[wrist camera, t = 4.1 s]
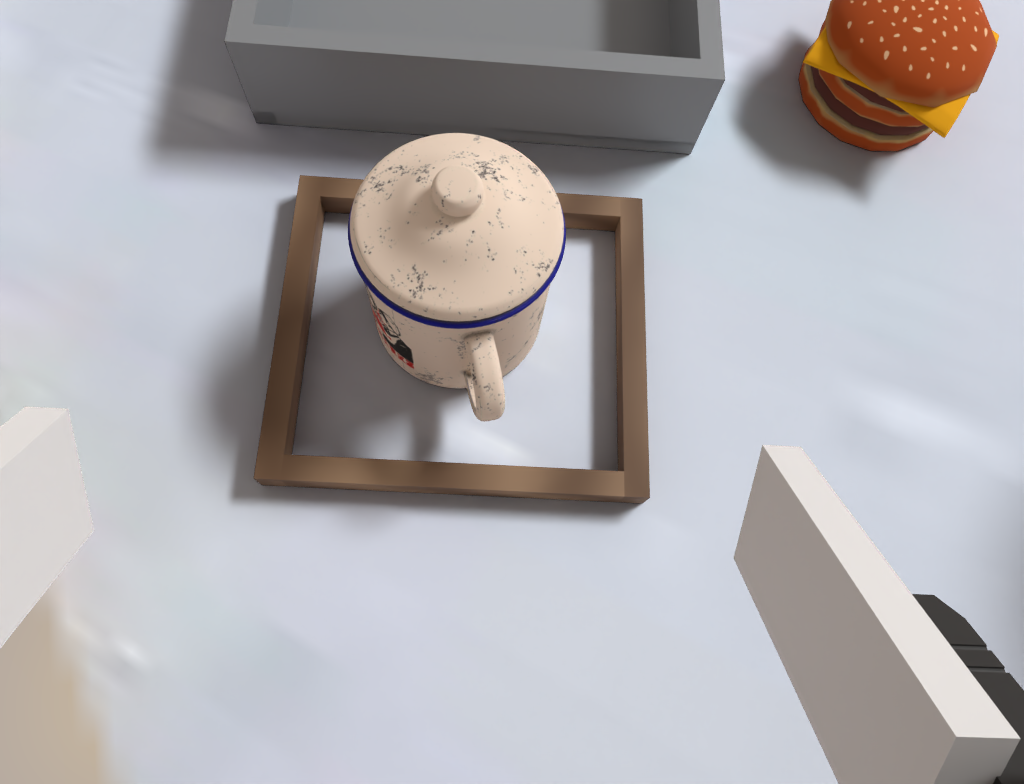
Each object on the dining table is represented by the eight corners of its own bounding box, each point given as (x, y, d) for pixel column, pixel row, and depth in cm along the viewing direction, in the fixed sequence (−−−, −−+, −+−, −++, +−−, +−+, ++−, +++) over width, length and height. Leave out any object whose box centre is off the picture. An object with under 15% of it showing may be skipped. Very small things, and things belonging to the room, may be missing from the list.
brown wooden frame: (635, 213, 42) (642, 198, 40) (642, 503, 36) (649, 497, 35) (305, 191, 41) (300, 175, 39) (262, 485, 35) (253, 478, 34)
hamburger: (962, 74, 47) (1040, -14, 40) (908, 183, 44) (984, 106, 37) (827, 7, 48) (883, -89, 41) (767, 109, 45) (816, 22, 38)
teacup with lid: (359, 252, 40) (319, 102, 29) (523, 226, 41) (546, 71, 30) (397, 466, 36) (368, 387, 25) (576, 430, 37) (624, 340, 26)
